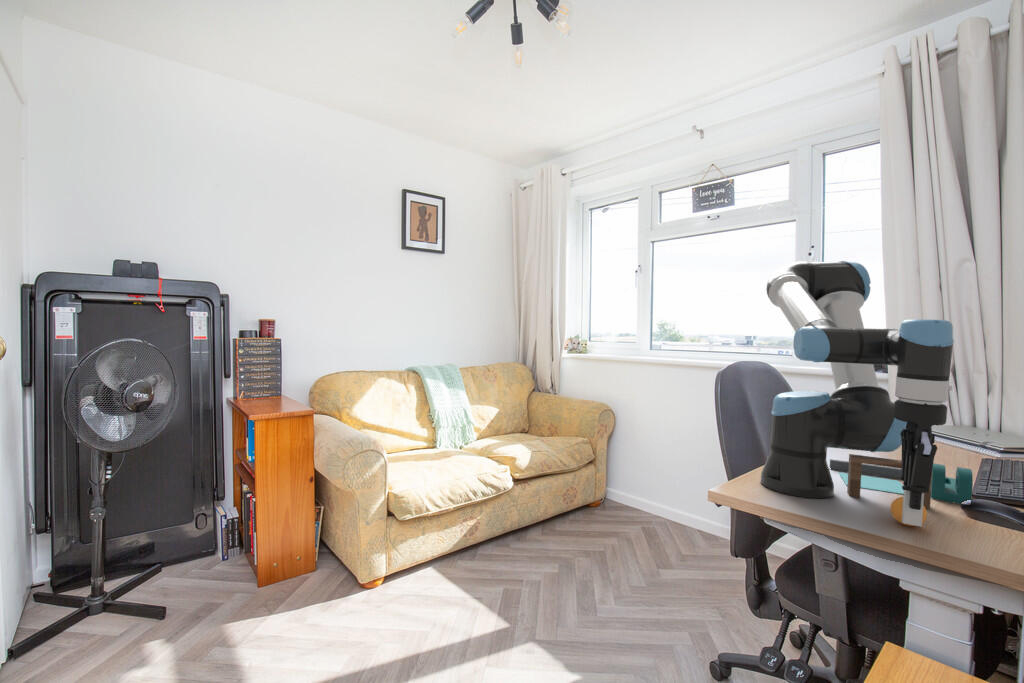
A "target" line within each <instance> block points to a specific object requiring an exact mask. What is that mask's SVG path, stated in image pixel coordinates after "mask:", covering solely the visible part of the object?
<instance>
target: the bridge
mask: <svg viewBox="0 0 1024 683" xmlns="http://www.w3.org/2000/svg"><path fill="white" fill-rule="evenodd" d="M848 462H849V468H848V472H847V473H848V486H846V487H847V488H846V489H847V490H846V492H847V495H848V496H849V497H854V498H860V497H861V488H860V487H861V475H862V474H861V470H862V463H863V464H871V465H878V466H886V467H893V468H902V459H893V458H886V457H885V458H884V457H877V456H876V457H875V456H868V455H861V454H852V453H849V454H848ZM931 483H932V474H931V480H930V486H929V492H928V493H926V492H925V493H924V502H923V506H924V507H925V509H928V508H930V509H931V500H932V499H931Z"/></svg>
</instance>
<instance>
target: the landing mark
mask: <svg viewBox="0 0 1024 683" xmlns="http://www.w3.org/2000/svg"><path fill="white" fill-rule="evenodd" d="M837 473H838V474H840V475H839V476H840V478H841V479H842V481H843V482H844V485H846V487H847V486H848V472H847V473H846V472H842V471H838V472H837ZM902 486H904V485H903V483H901V481H900V480H898V479H897V480H894V479H891V478H889V479H888V478H883V477H877V476H876V477H875V476H870V475H869V476H867V475H863V474H861V487H860V489H864V490H871V491H878V492H884V493H892V494H897V495H898V494H899V495H904V490H903V489H902Z"/></svg>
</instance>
